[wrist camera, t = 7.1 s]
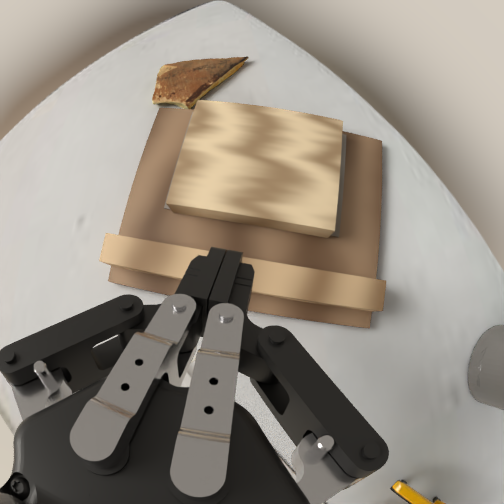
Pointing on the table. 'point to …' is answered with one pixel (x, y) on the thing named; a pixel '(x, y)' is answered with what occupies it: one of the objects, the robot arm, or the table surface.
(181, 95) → the shard
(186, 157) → the oak plank
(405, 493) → the robot dog
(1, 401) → the table surface
